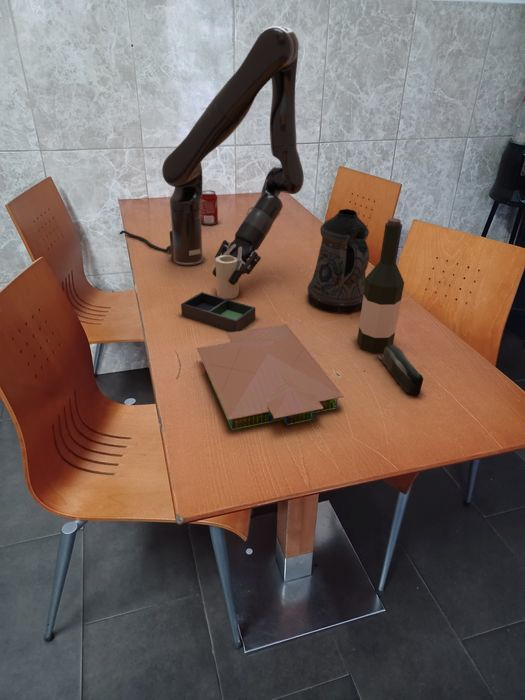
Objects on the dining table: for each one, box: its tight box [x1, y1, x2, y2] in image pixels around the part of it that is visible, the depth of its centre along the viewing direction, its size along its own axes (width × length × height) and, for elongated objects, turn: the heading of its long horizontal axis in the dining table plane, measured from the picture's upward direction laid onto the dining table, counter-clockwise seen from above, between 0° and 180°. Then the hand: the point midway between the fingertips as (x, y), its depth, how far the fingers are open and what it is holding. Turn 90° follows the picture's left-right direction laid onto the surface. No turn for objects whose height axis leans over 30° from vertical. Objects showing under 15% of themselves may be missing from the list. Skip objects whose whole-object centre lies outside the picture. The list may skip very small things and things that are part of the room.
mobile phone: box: [377, 344, 424, 396], centre depth 106 cm, size 5×3×15 cm
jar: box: [215, 254, 240, 300], centre depth 138 cm, size 6×6×10 cm
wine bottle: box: [356, 217, 405, 354], centre depth 111 cm, size 8×8×30 cm
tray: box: [180, 291, 256, 332], centre depth 128 cm, size 17×9×3 cm, turn 59°
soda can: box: [200, 189, 219, 226], centre depth 193 cm, size 7×7×12 cm
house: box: [196, 323, 345, 431], centre depth 103 cm, size 23×33×8 cm
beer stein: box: [307, 208, 370, 314], centre depth 132 cm, size 16×19×25 cm
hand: (222, 279), depth 137 cm, fingers closed on jar, 6 cm apart
